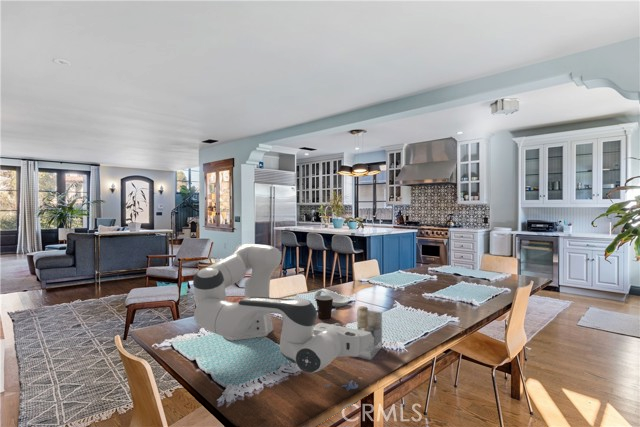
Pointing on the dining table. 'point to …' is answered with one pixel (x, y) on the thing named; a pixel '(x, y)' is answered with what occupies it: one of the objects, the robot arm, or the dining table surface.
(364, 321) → the beige banded cylinder
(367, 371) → the dining table surface
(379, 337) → the cup bracket
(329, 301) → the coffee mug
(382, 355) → the dining table surface
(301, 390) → the dining table surface
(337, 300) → the spoon rest
